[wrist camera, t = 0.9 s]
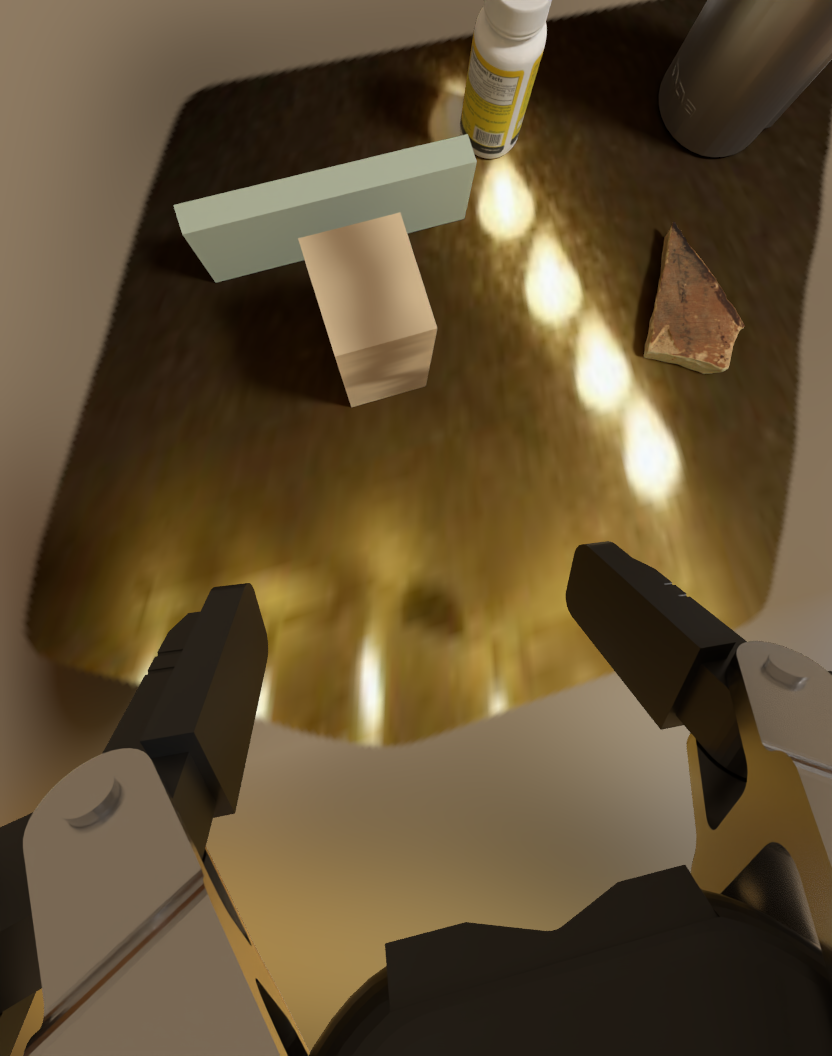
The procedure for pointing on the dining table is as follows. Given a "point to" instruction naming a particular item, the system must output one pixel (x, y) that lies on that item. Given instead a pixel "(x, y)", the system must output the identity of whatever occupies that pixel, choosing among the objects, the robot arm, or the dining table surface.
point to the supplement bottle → (502, 72)
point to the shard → (690, 312)
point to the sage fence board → (327, 206)
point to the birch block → (372, 306)
